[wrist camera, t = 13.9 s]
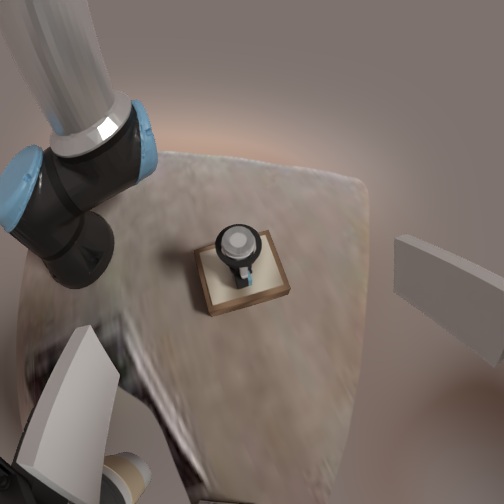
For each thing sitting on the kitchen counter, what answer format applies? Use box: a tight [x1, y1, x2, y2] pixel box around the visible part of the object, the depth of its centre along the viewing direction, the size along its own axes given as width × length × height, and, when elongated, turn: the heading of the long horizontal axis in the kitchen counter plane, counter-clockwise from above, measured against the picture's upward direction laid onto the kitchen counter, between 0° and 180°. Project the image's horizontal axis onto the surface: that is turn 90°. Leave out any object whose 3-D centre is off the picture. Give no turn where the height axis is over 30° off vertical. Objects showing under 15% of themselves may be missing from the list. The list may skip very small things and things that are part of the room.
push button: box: [215, 224, 262, 290], centre depth 35 cm, size 7×5×10 cm
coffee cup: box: [68, 452, 152, 504], centre depth 21 cm, size 9×9×15 cm
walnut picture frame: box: [194, 230, 291, 317], centre depth 41 cm, size 12×10×3 cm
